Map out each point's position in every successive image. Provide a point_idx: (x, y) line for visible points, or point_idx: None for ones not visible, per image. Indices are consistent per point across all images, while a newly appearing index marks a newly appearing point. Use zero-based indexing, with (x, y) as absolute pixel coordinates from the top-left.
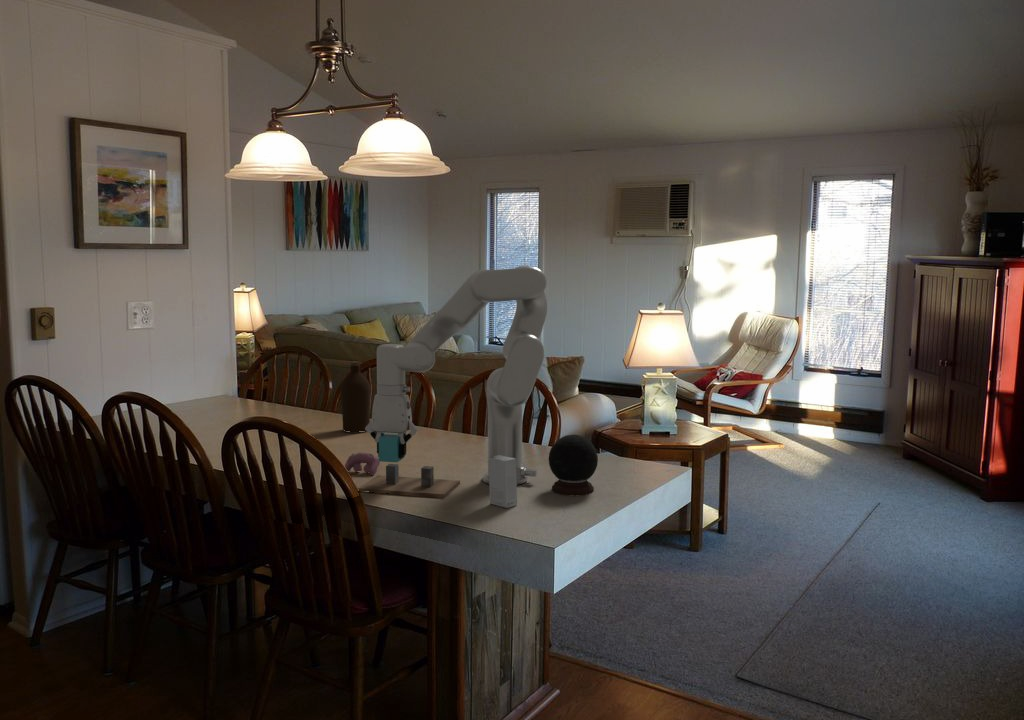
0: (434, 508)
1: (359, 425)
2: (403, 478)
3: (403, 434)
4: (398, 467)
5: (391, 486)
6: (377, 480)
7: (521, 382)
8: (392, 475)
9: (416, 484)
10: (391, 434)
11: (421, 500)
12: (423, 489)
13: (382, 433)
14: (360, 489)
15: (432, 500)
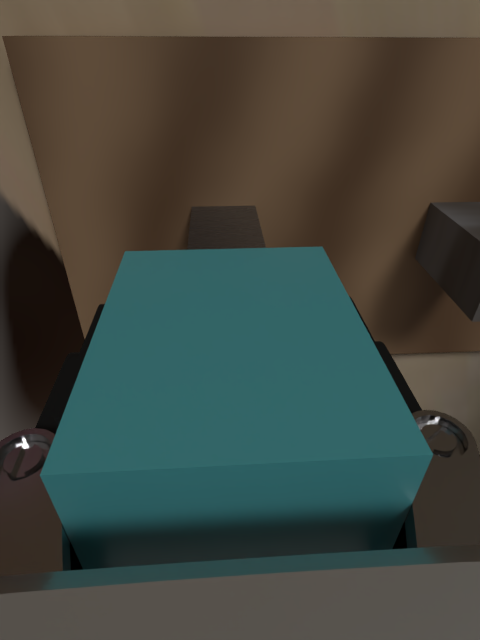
0: (476, 441)
1: None
2: (254, 93)
3: (444, 540)
4: (265, 247)
5: None
6: (98, 199)
7: None
8: None
9: (380, 225)
10: (203, 514)
11: (422, 383)
12: (431, 305)
13: (41, 559)
14: None
15: (469, 373)
